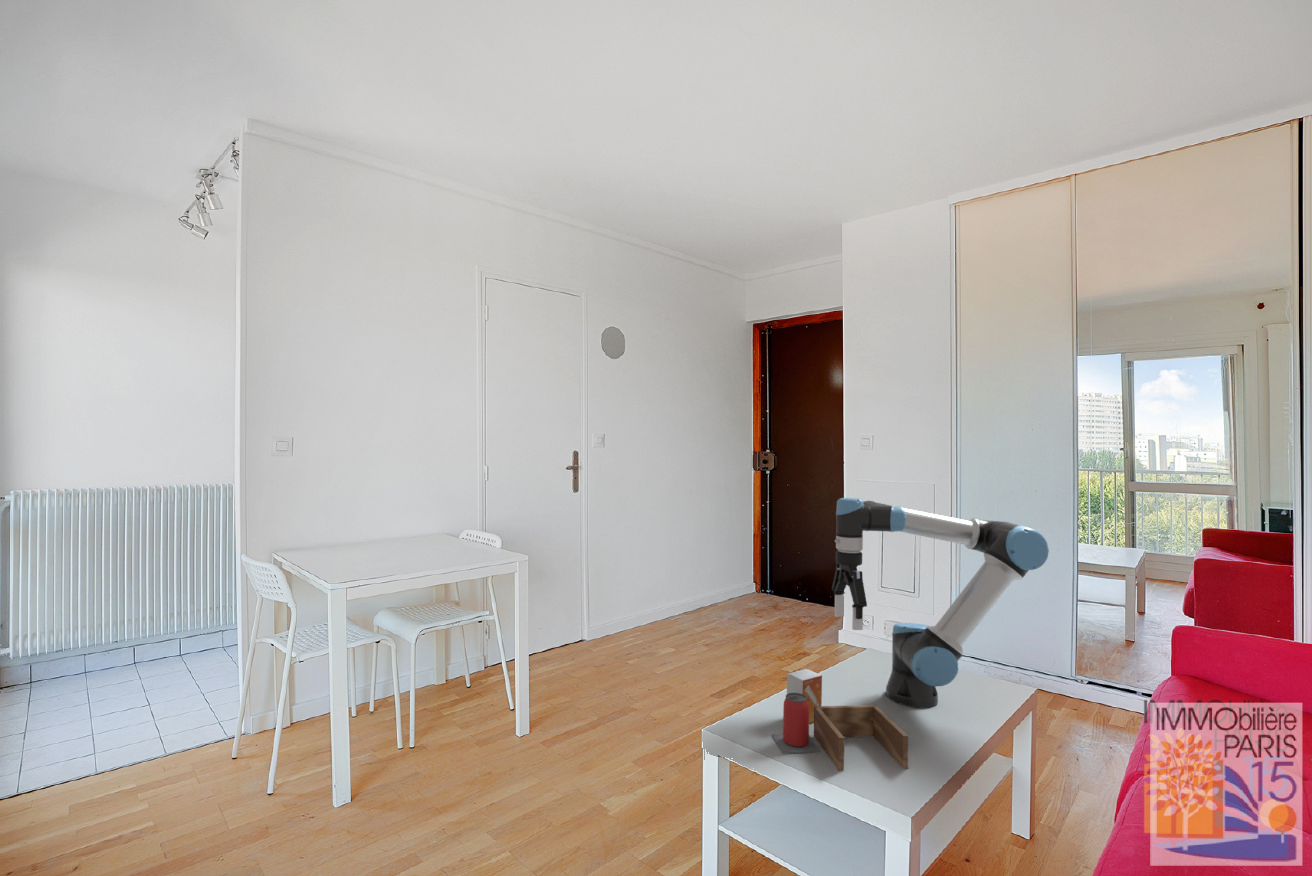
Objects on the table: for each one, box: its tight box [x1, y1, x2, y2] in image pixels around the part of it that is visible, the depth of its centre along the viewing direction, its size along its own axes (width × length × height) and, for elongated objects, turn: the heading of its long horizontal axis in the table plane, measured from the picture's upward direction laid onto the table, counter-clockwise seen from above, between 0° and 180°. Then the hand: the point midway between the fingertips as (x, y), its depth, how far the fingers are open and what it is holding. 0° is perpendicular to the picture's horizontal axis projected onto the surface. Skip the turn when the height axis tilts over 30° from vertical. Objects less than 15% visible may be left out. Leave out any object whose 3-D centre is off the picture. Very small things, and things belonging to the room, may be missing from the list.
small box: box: [786, 668, 823, 724], centre depth 182 cm, size 8×6×13 cm
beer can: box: [782, 693, 810, 747], centre depth 167 cm, size 7×7×12 cm
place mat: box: [771, 733, 822, 755], centre depth 167 cm, size 10×10×1 cm
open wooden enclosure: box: [813, 704, 909, 772], centre depth 163 cm, size 17×18×8 cm
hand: (848, 622), depth 186 cm, fingers open, 13 cm apart
